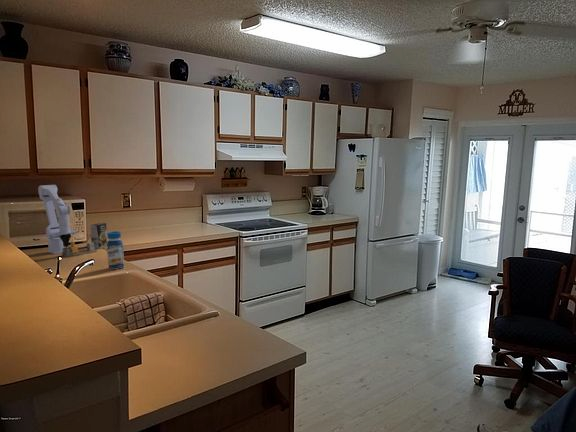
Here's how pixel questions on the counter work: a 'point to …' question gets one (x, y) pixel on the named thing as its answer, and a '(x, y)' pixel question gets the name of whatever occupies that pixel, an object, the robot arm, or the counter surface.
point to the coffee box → (99, 235)
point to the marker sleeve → (73, 247)
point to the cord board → (69, 253)
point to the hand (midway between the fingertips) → (66, 246)
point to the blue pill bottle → (115, 250)
